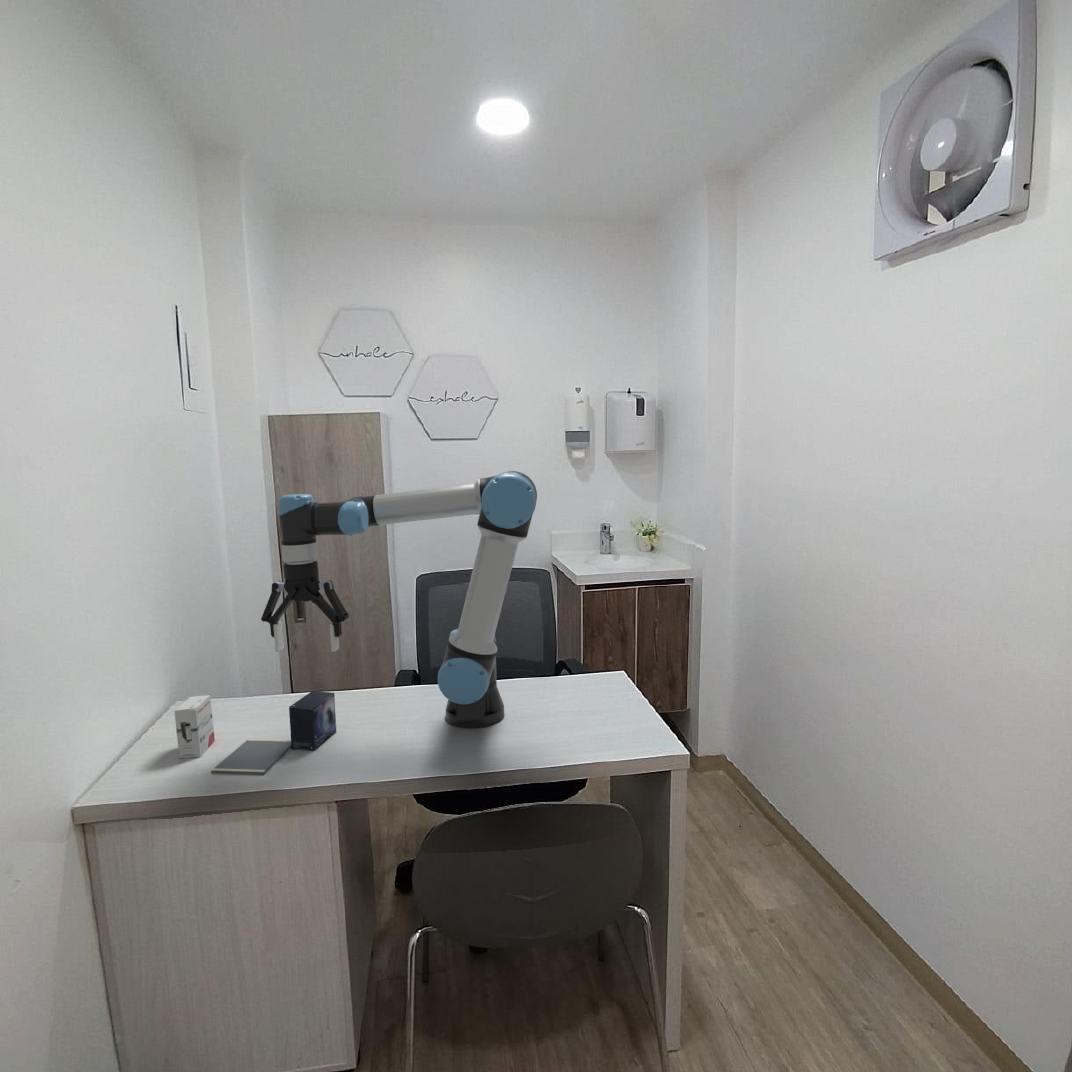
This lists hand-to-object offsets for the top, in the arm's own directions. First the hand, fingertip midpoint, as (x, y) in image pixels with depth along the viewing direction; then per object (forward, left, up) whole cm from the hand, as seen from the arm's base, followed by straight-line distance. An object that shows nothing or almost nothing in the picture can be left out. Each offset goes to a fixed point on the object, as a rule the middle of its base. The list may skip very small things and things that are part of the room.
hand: (307, 650), depth 151 cm
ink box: (+26, +6, -23) cm, 35 cm away
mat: (+10, +9, -22) cm, 26 cm away
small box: (0, 0, -23) cm, 23 cm away
